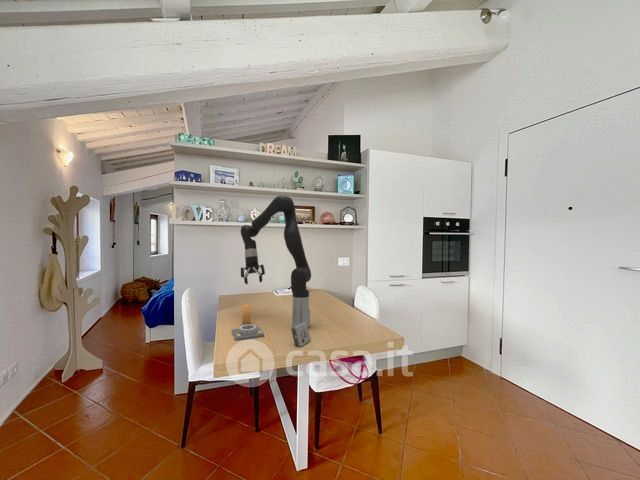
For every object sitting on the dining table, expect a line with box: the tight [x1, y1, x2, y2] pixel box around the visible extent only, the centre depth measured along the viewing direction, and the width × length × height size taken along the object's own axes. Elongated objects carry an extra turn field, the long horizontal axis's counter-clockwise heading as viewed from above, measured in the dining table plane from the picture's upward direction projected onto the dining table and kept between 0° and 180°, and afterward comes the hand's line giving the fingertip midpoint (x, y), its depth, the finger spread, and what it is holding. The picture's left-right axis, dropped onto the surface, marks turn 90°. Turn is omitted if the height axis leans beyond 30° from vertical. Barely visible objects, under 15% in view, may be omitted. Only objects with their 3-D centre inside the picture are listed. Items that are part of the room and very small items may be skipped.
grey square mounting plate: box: [231, 323, 265, 342], centre depth 140 cm, size 14×14×4 cm
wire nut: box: [241, 303, 251, 326], centre depth 156 cm, size 4×4×11 cm
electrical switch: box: [291, 322, 312, 348], centre depth 130 cm, size 9×5×9 cm, turn 152°
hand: (253, 283), depth 164 cm, fingers open, 8 cm apart
